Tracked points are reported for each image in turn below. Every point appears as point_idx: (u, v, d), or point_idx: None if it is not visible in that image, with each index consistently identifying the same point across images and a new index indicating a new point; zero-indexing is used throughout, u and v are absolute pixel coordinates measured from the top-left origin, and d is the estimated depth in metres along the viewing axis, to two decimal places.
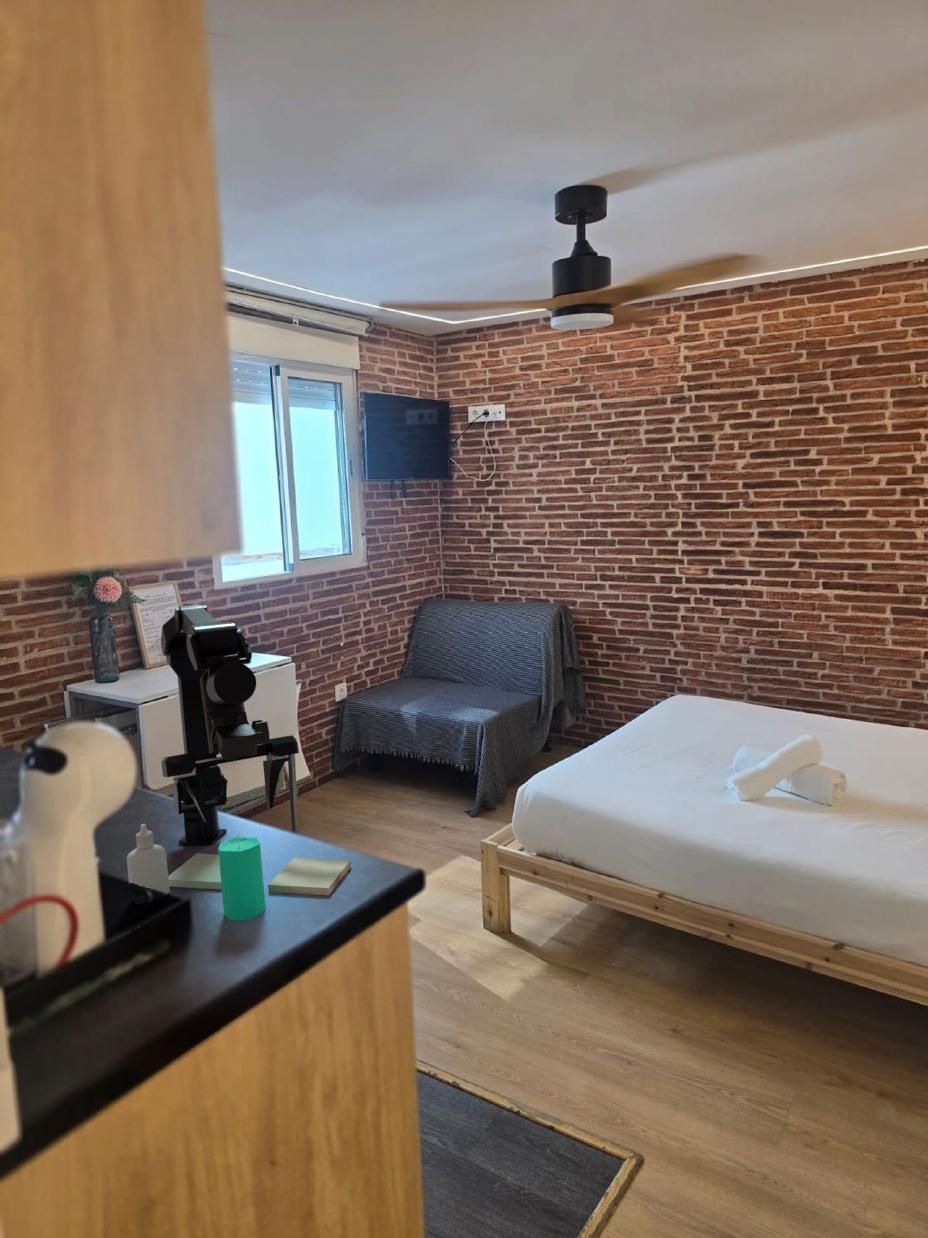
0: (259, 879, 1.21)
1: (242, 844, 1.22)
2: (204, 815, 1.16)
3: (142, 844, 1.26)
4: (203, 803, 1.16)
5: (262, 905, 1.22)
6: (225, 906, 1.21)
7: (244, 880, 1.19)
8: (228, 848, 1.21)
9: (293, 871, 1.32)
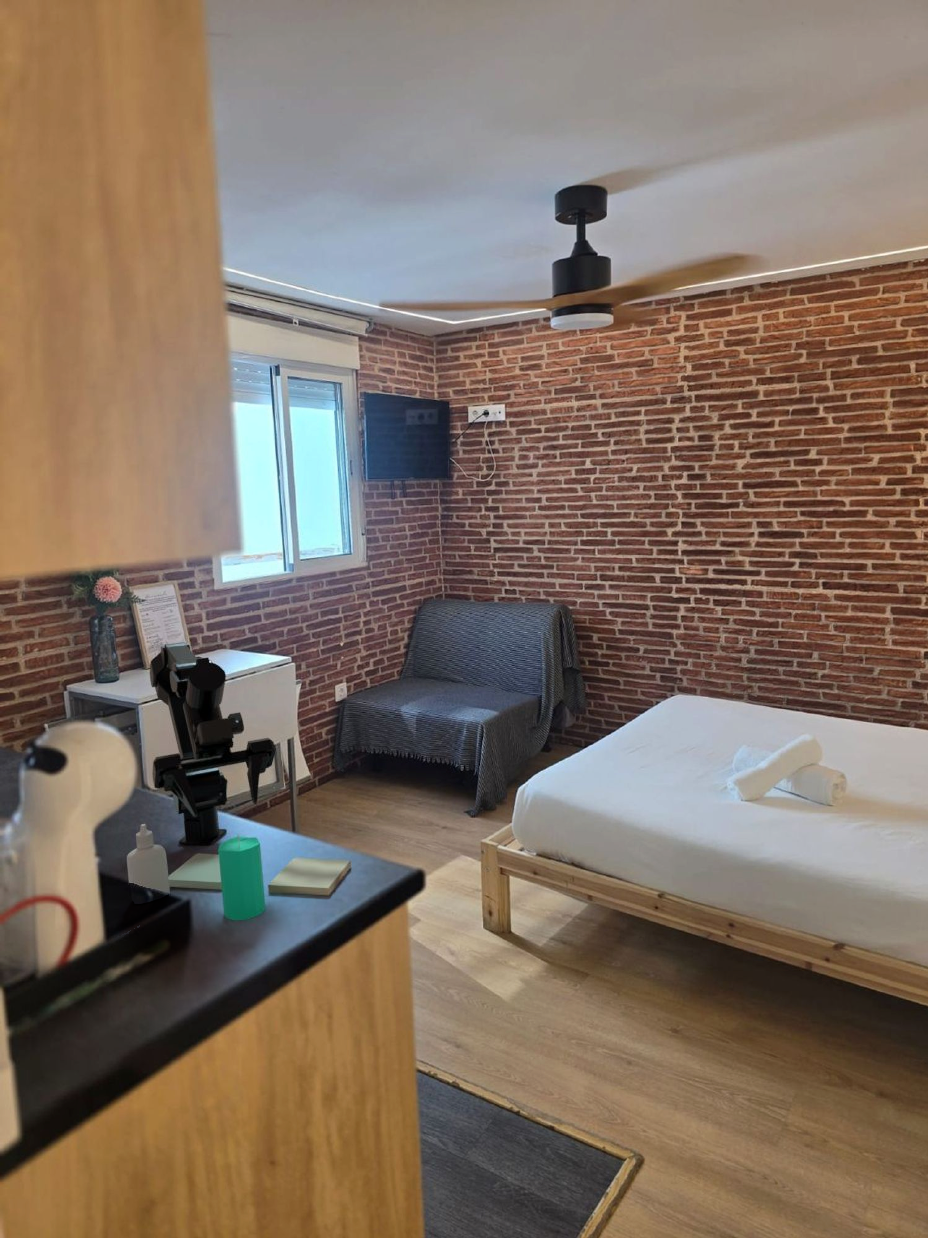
0: (259, 879, 1.21)
1: (242, 844, 1.22)
2: (192, 807, 1.25)
3: (142, 844, 1.26)
4: (190, 796, 1.26)
5: (262, 905, 1.22)
6: (225, 906, 1.21)
7: (244, 880, 1.19)
8: (228, 848, 1.21)
9: (293, 871, 1.32)
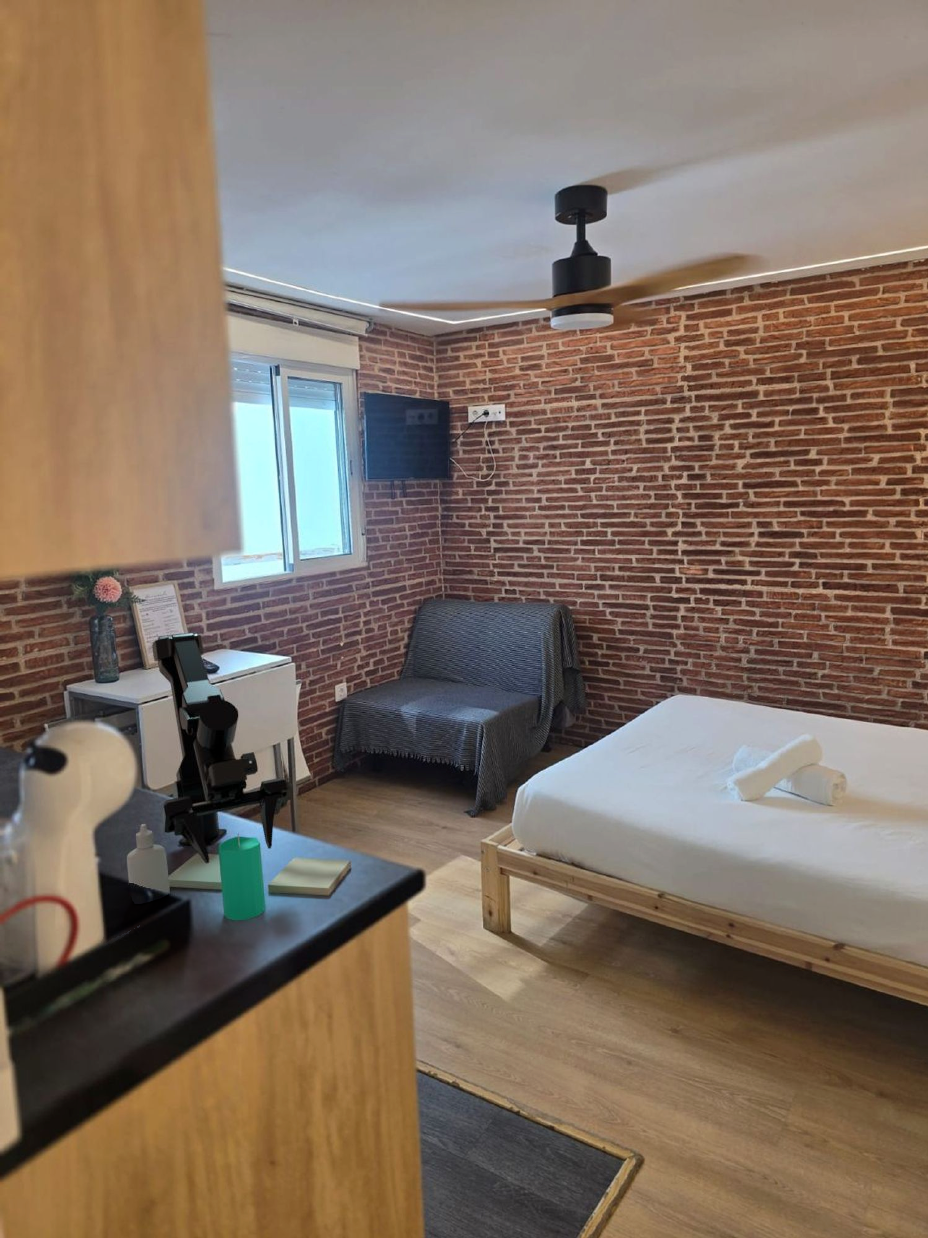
0: (259, 879, 1.21)
1: (242, 844, 1.22)
2: (204, 854, 1.20)
3: (142, 844, 1.26)
4: (202, 842, 1.20)
5: (262, 905, 1.22)
6: (225, 906, 1.21)
7: (244, 880, 1.19)
8: (228, 848, 1.21)
9: (293, 871, 1.32)
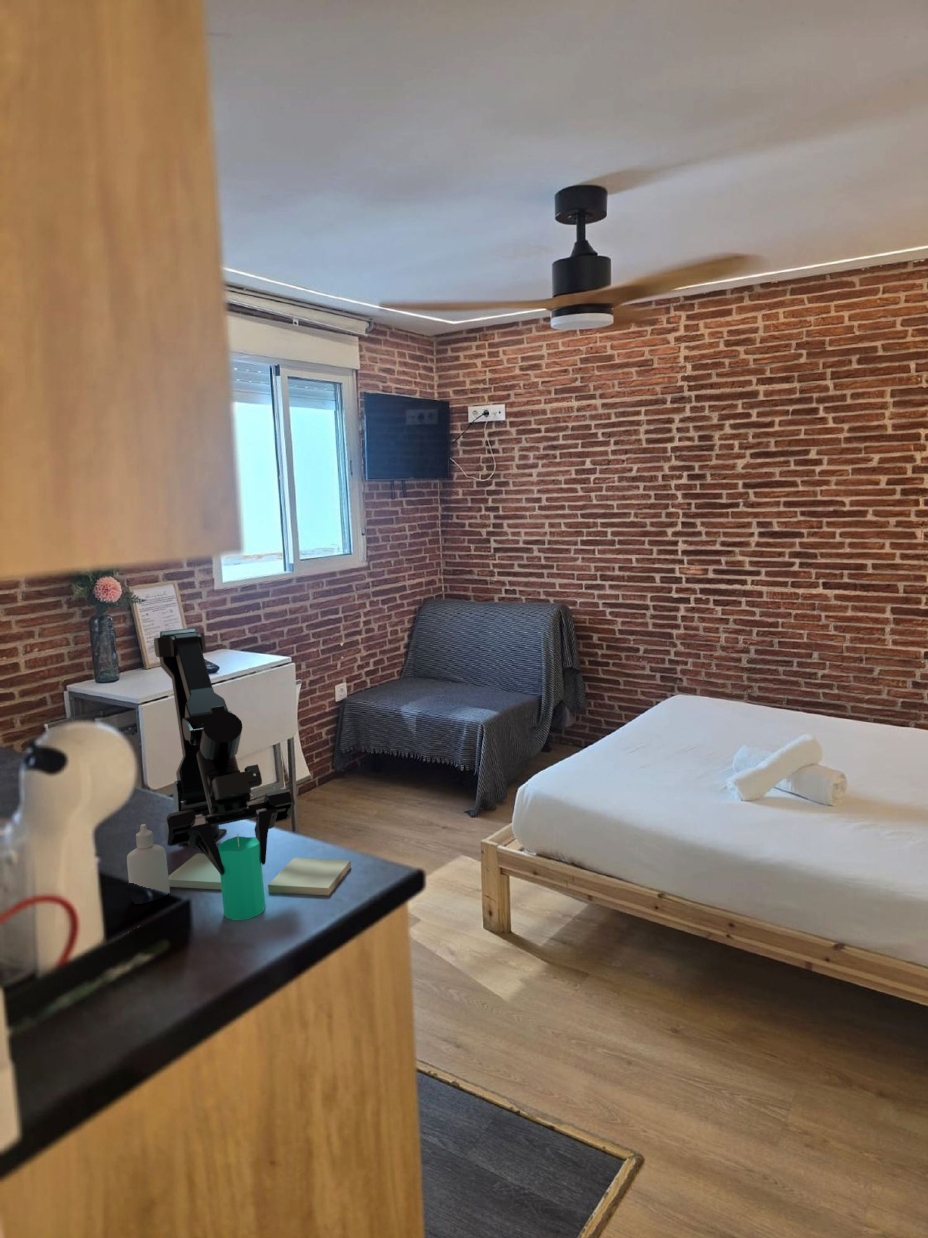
0: (259, 879, 1.21)
1: (242, 844, 1.22)
2: (219, 865, 1.19)
3: (142, 844, 1.26)
4: (217, 853, 1.20)
5: (262, 905, 1.22)
6: (225, 906, 1.21)
7: (244, 880, 1.19)
8: (228, 848, 1.21)
9: (293, 871, 1.32)
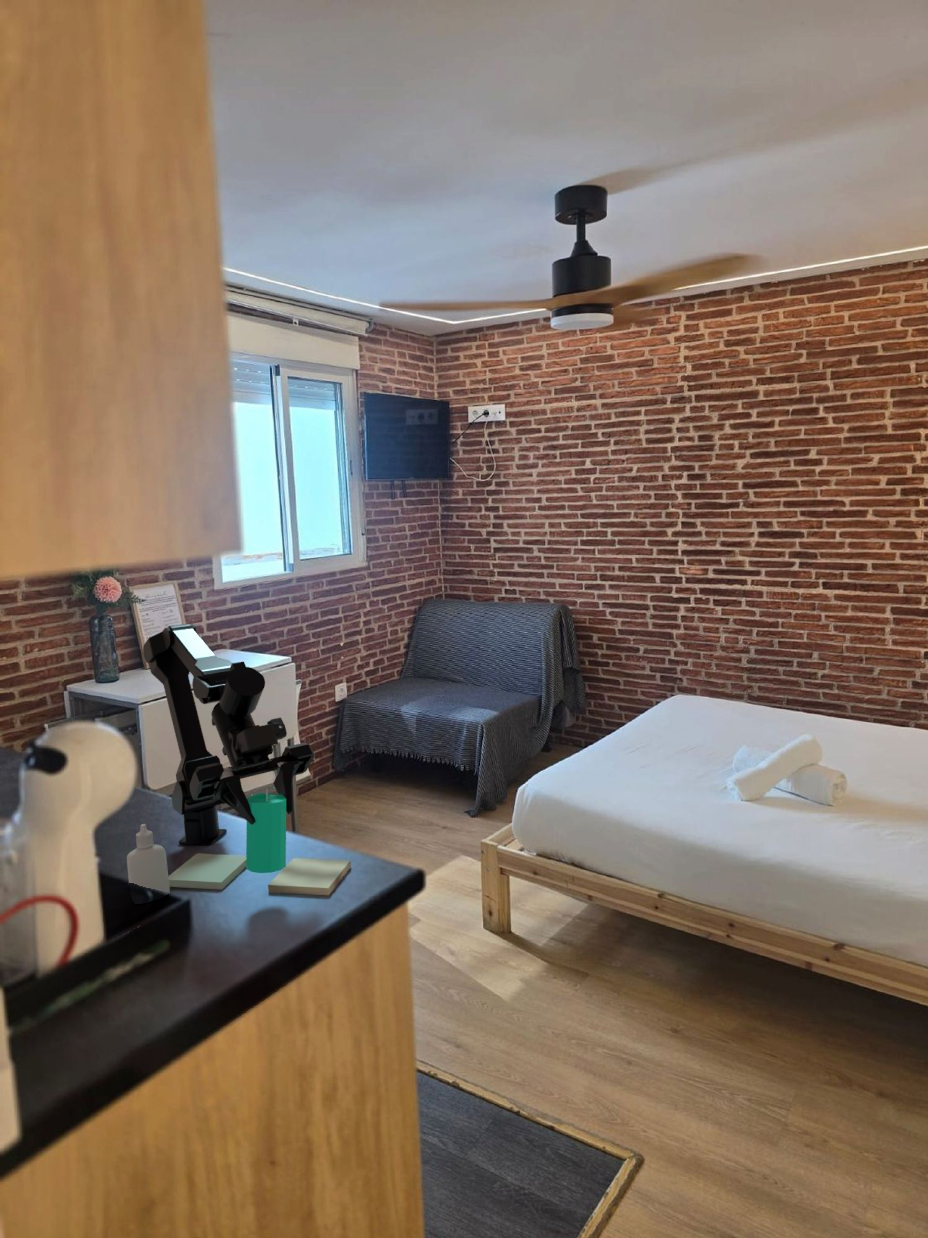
0: (285, 833, 1.24)
1: (269, 800, 1.25)
2: (250, 815, 1.22)
3: (142, 844, 1.26)
4: (247, 804, 1.22)
5: (285, 860, 1.25)
6: (249, 859, 1.23)
7: (273, 833, 1.22)
8: (256, 802, 1.24)
9: (293, 871, 1.32)
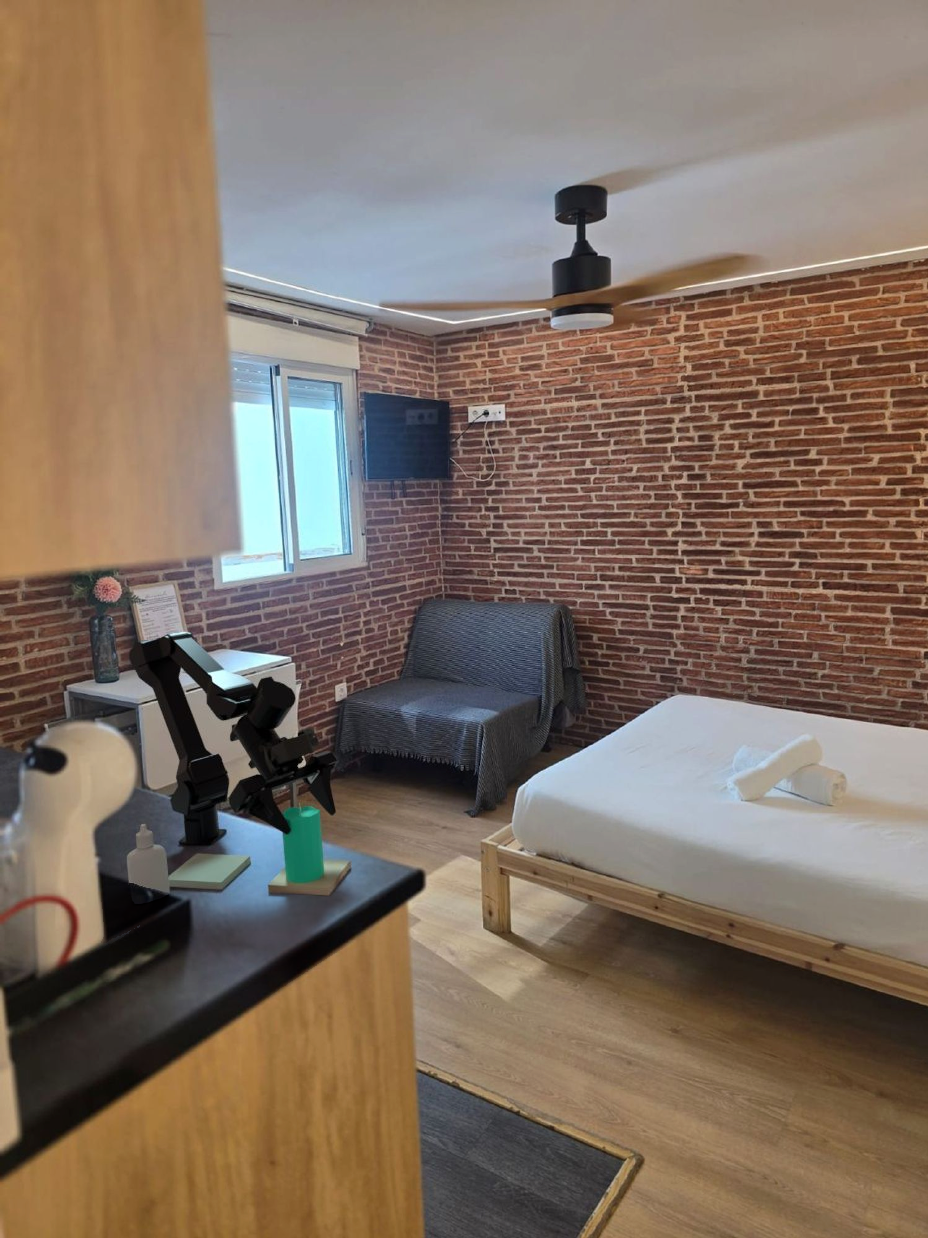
0: (321, 842, 1.31)
1: (301, 813, 1.31)
2: (285, 825, 1.26)
3: (142, 844, 1.26)
4: (281, 815, 1.27)
5: (323, 866, 1.31)
6: (292, 872, 1.28)
7: (313, 843, 1.28)
8: (291, 817, 1.29)
9: None
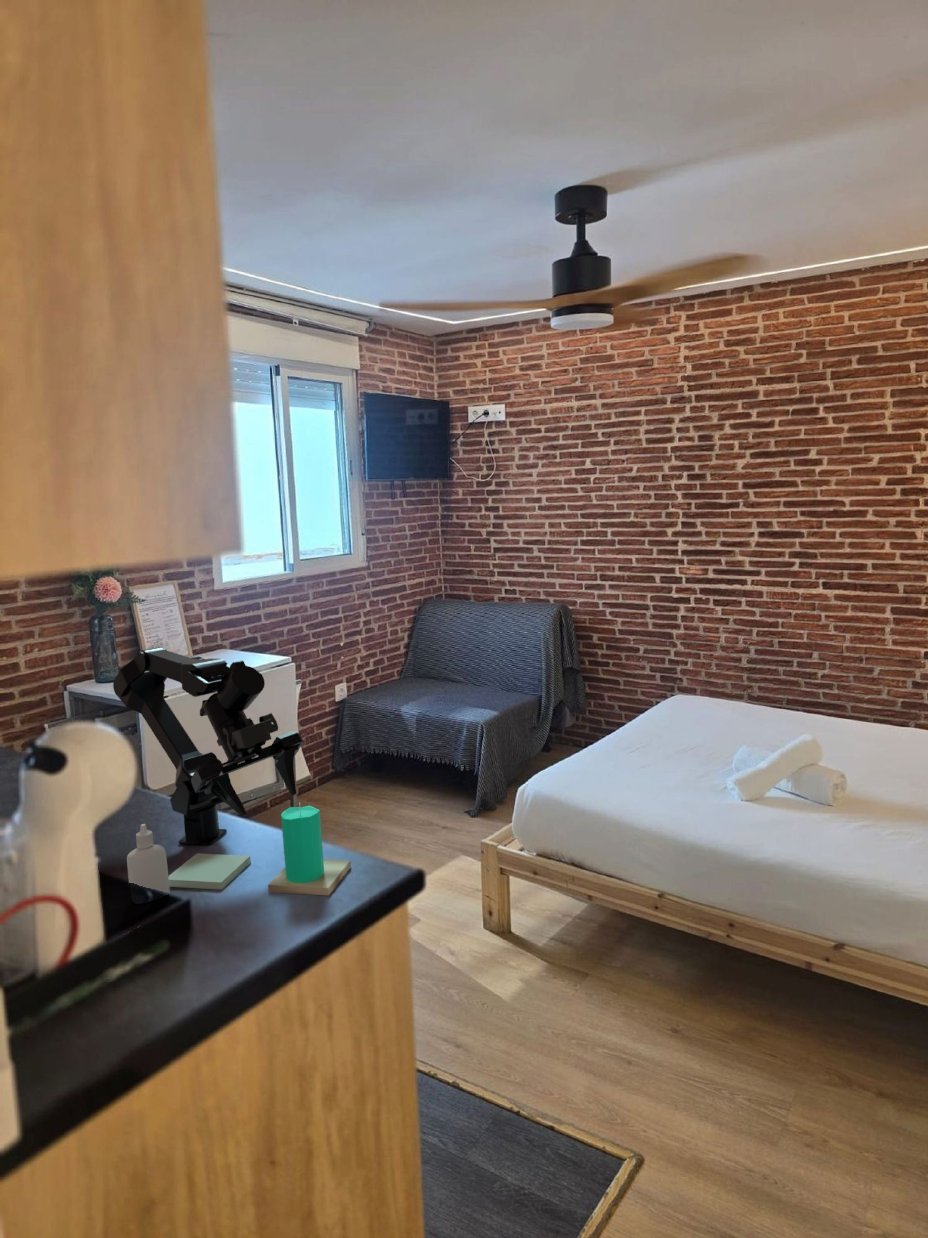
0: (321, 842, 1.31)
1: (301, 813, 1.31)
2: (241, 809, 1.32)
3: (142, 844, 1.26)
4: (237, 799, 1.33)
5: (323, 866, 1.31)
6: (292, 872, 1.28)
7: (313, 843, 1.28)
8: (291, 817, 1.29)
9: None
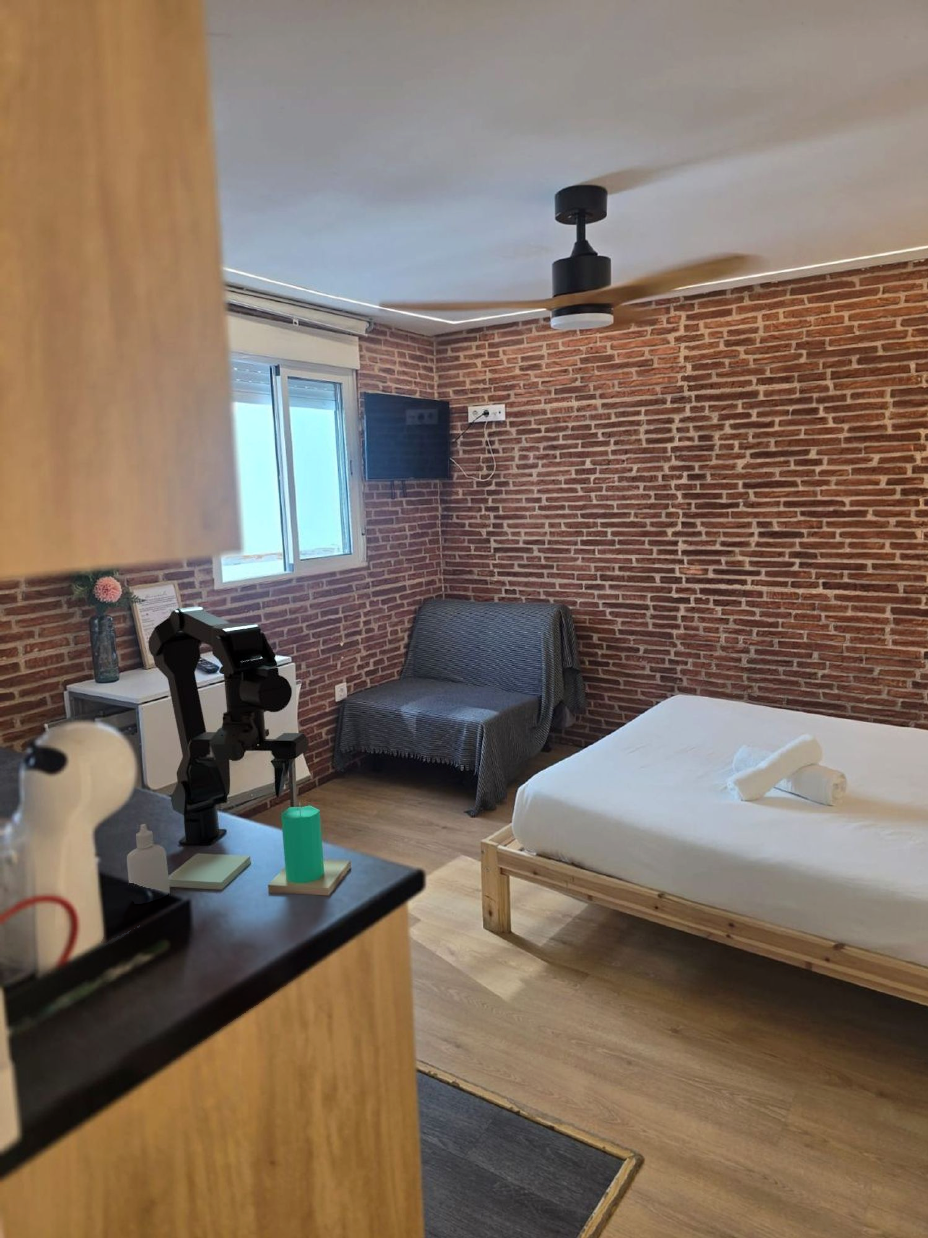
0: (321, 842, 1.31)
1: (301, 813, 1.31)
2: (222, 790, 1.35)
3: (142, 844, 1.26)
4: (220, 781, 1.34)
5: (323, 866, 1.31)
6: (292, 872, 1.28)
7: (313, 843, 1.28)
8: (291, 817, 1.29)
9: None
